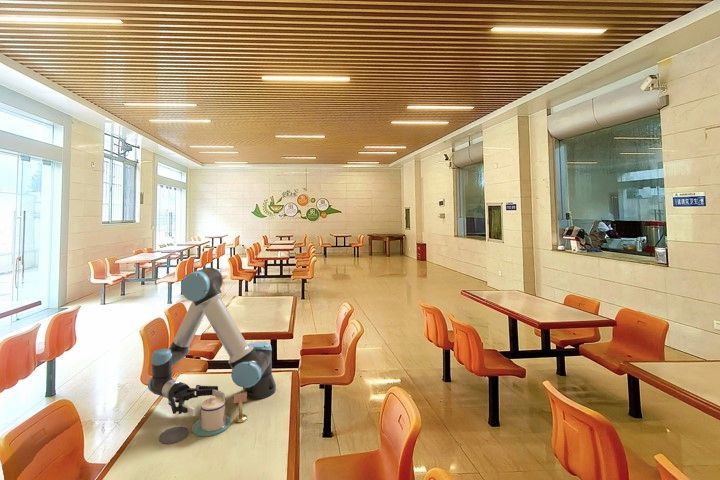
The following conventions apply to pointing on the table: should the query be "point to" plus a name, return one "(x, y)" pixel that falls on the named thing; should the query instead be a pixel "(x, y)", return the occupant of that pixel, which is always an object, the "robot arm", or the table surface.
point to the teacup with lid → (213, 413)
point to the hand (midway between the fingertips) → (209, 404)
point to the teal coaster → (200, 432)
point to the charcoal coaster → (174, 435)
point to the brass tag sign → (240, 406)
